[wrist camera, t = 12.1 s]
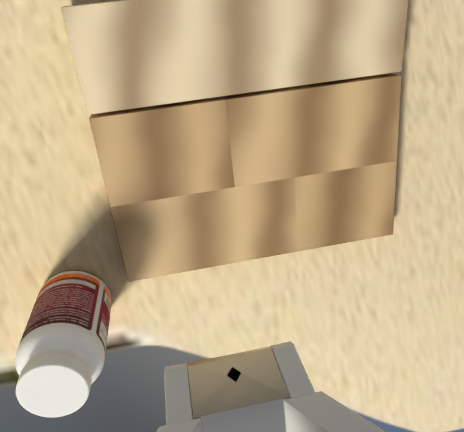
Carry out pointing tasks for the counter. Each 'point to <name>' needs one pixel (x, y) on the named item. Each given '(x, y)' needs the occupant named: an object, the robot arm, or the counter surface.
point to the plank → (226, 46)
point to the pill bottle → (63, 344)
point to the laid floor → (250, 173)
